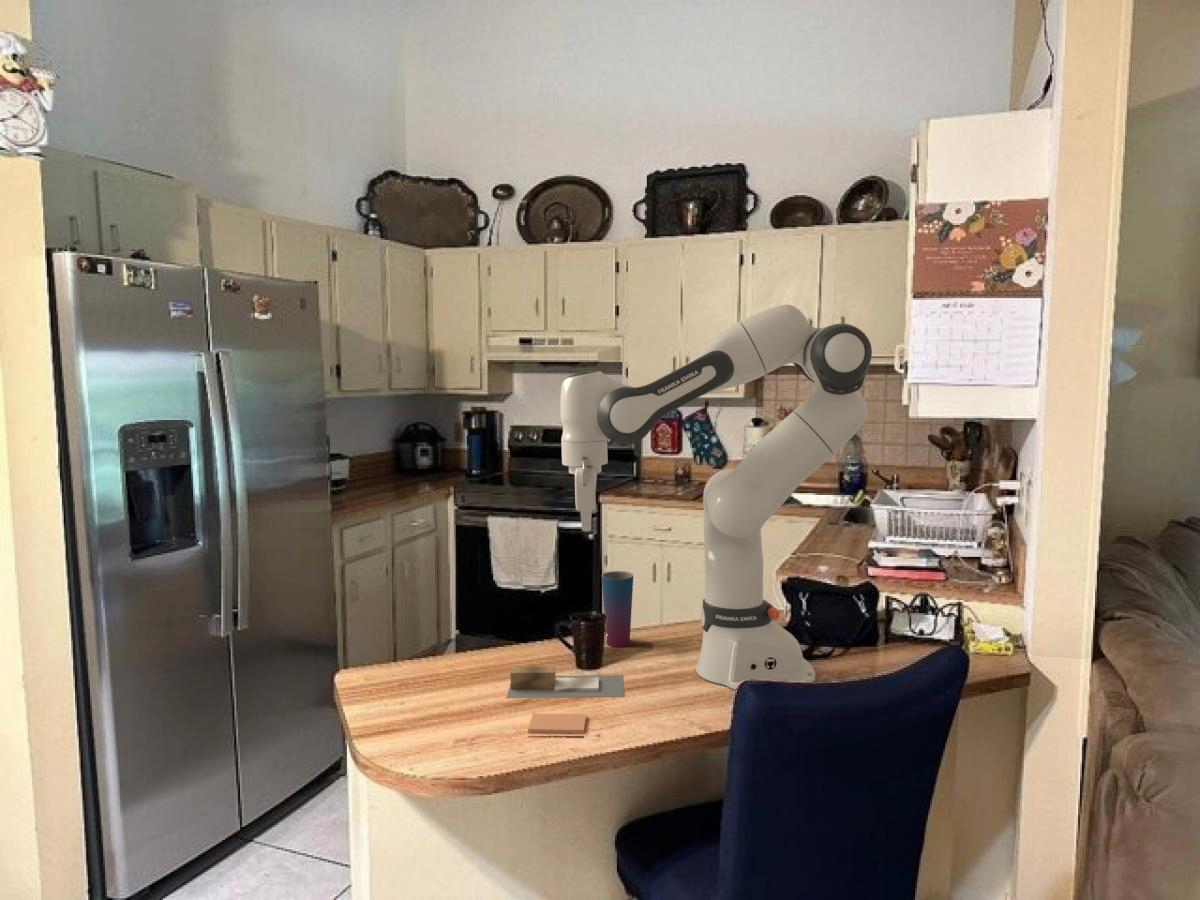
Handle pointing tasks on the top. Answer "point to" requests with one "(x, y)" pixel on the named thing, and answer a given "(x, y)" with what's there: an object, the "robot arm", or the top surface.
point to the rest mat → (607, 688)
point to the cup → (617, 606)
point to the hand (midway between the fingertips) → (586, 525)
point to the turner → (549, 680)
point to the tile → (557, 724)
